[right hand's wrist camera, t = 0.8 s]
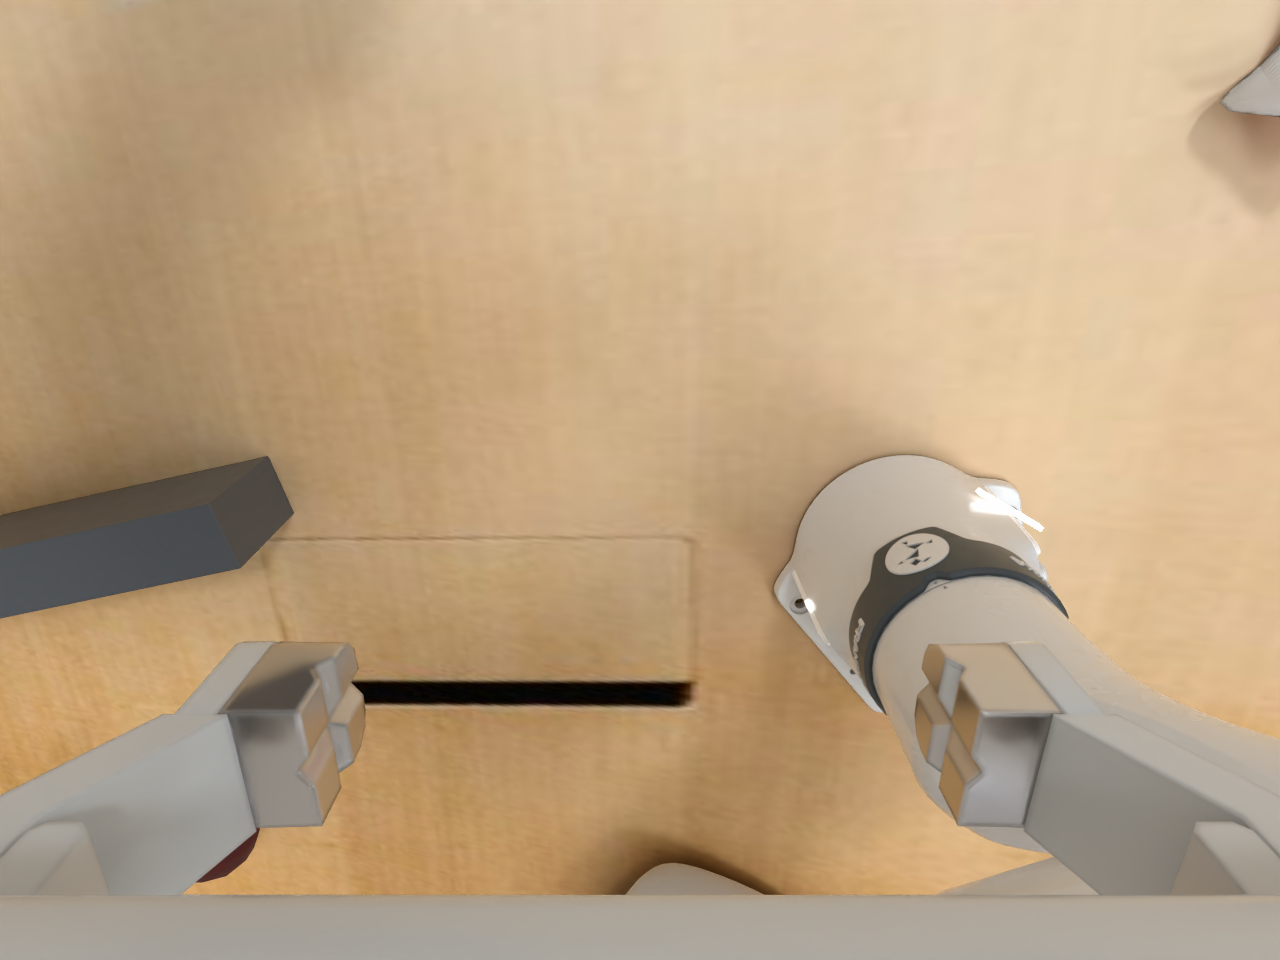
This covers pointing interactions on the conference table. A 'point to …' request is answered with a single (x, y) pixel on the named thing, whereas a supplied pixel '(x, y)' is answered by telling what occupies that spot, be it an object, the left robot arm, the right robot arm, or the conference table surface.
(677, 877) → the white rounded device
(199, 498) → the bar
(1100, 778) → the right robot arm
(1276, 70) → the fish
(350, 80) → the conference table surface
